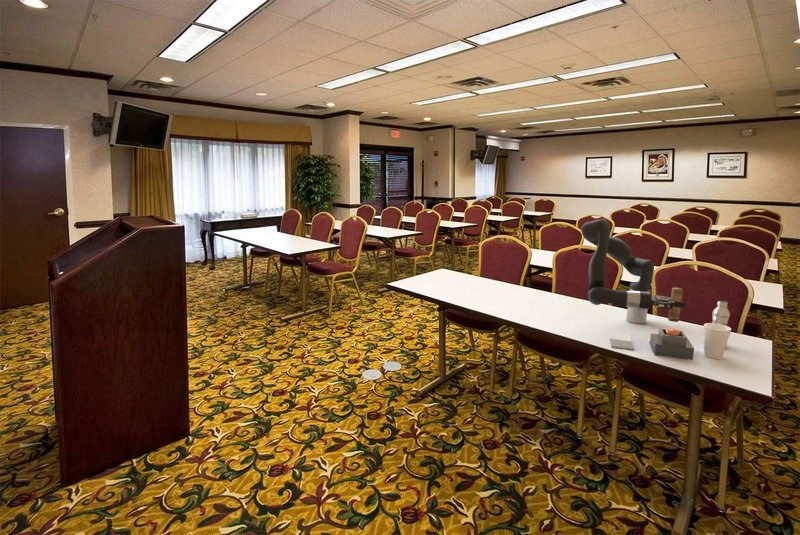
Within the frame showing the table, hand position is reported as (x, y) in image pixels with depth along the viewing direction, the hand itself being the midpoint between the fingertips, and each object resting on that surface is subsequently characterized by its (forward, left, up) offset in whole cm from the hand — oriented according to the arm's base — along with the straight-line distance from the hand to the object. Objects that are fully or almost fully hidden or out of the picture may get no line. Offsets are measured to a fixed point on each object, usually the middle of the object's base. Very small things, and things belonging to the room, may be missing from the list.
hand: (683, 303), depth 188 cm
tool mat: (-1, -22, -22) cm, 31 cm away
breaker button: (0, -3, -15) cm, 15 cm away
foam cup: (-1, +13, -22) cm, 26 cm away
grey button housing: (0, -3, -22) cm, 22 cm away
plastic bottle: (-17, +18, -22) cm, 33 cm away
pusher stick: (0, -3, -8) cm, 8 cm away
